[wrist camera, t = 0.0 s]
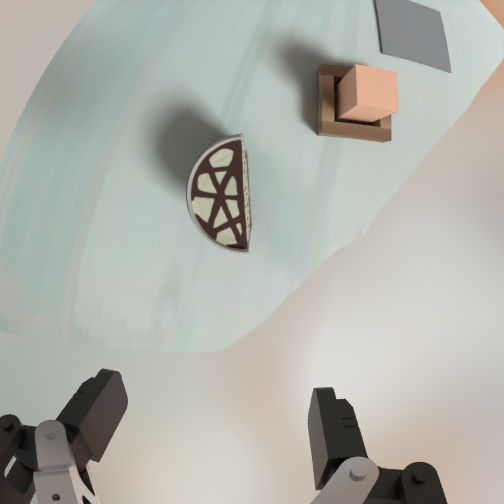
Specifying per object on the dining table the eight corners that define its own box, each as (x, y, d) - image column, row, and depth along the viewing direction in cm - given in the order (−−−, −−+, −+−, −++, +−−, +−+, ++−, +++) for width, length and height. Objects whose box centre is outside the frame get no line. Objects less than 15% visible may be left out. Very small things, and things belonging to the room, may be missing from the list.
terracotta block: (334, 88, 33) (355, 64, 23) (366, 92, 33) (395, 72, 23) (334, 120, 34) (357, 104, 25) (367, 124, 34) (398, 111, 24)
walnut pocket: (317, 71, 32) (321, 64, 30) (381, 80, 32) (389, 74, 29) (317, 135, 35) (321, 132, 32) (382, 142, 35) (391, 140, 32)
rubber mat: (373, -8, 28) (374, -9, 27) (438, 12, 27) (439, 11, 27) (382, 53, 31) (383, 52, 30) (449, 72, 30) (451, 72, 30)
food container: (199, 145, 36) (177, 137, 26) (247, 141, 36) (241, 130, 26) (206, 238, 39) (187, 260, 30) (252, 235, 39) (248, 258, 29)
